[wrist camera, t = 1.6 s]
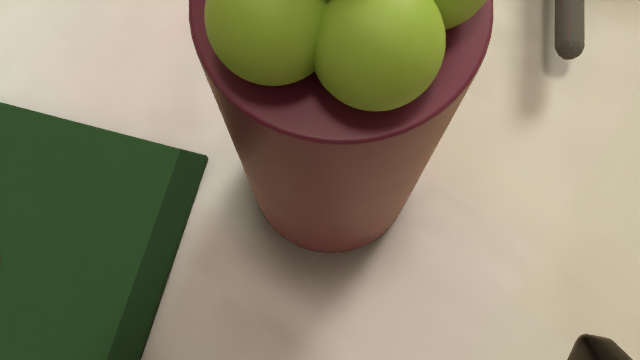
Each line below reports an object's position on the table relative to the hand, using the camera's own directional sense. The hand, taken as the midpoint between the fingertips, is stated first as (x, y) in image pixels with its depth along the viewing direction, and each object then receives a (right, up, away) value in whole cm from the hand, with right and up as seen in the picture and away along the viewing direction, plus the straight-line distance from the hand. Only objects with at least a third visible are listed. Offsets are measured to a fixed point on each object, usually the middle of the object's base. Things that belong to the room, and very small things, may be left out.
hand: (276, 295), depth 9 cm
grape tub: (+1, +2, +13) cm, 13 cm away
